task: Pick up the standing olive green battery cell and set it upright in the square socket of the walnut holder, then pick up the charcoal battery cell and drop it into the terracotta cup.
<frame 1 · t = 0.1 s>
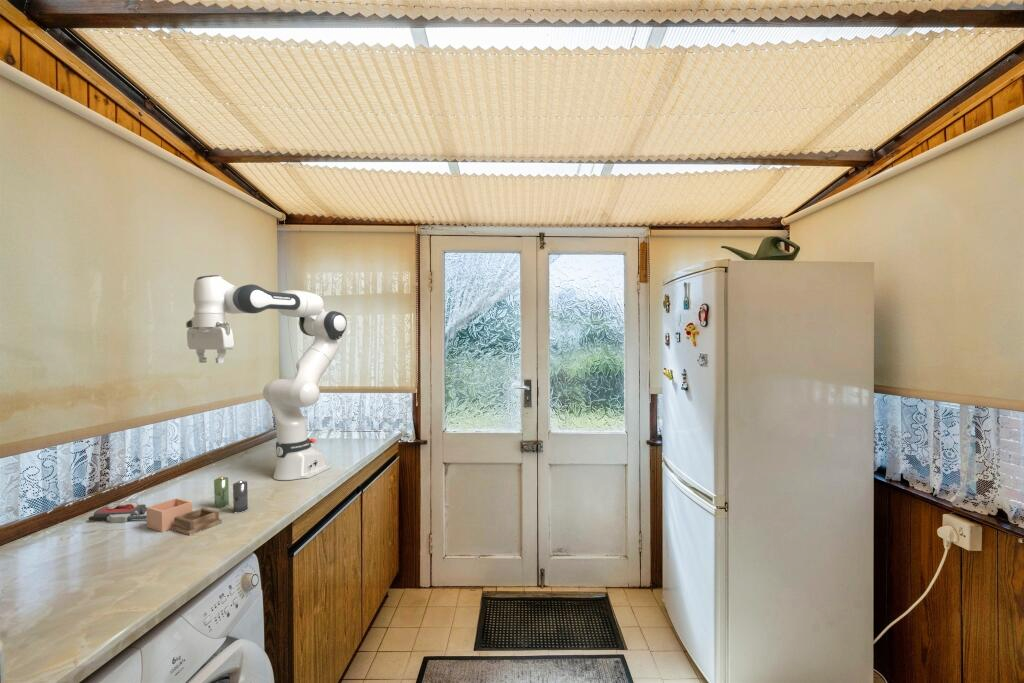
hand: (211, 362, 151), 48 cm above the table, tool pointing down, fingers open, 8 cm apart
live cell: (221, 505, 149), on the table
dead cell: (240, 510, 144), on the table
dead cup: (170, 524, 134), on the table
cell holder: (197, 526, 133), on the table
walkie-talkie: (128, 518, 140), on the table
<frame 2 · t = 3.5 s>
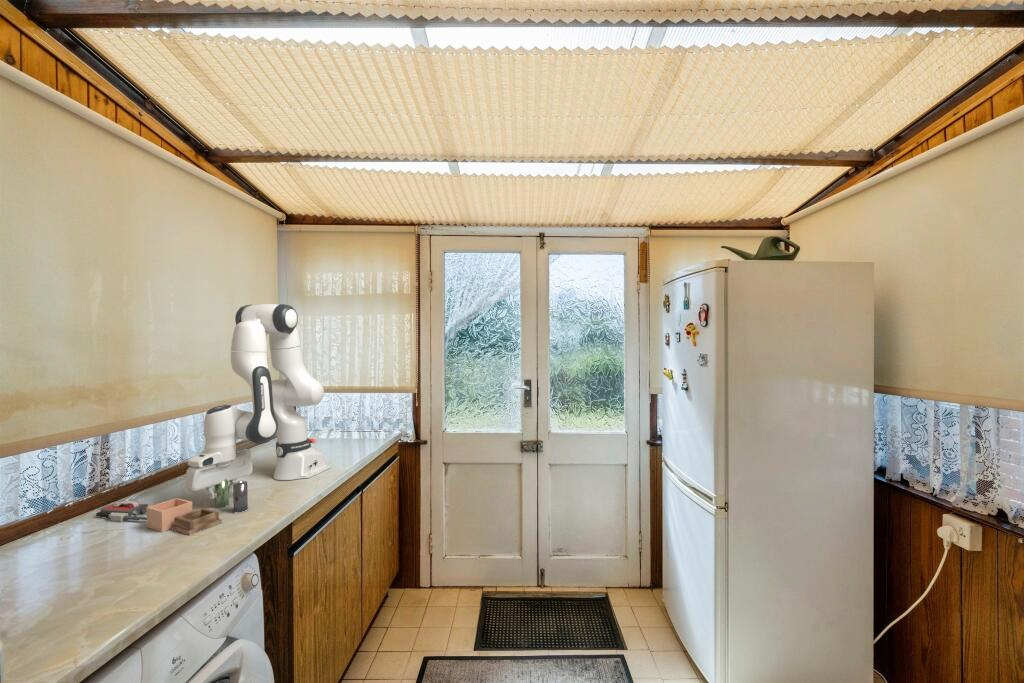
hand: (221, 495, 148), 3 cm above the table, tool pointing down, fingers closed on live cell, 4 cm apart
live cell: (221, 505, 149), on the table, touching gripper
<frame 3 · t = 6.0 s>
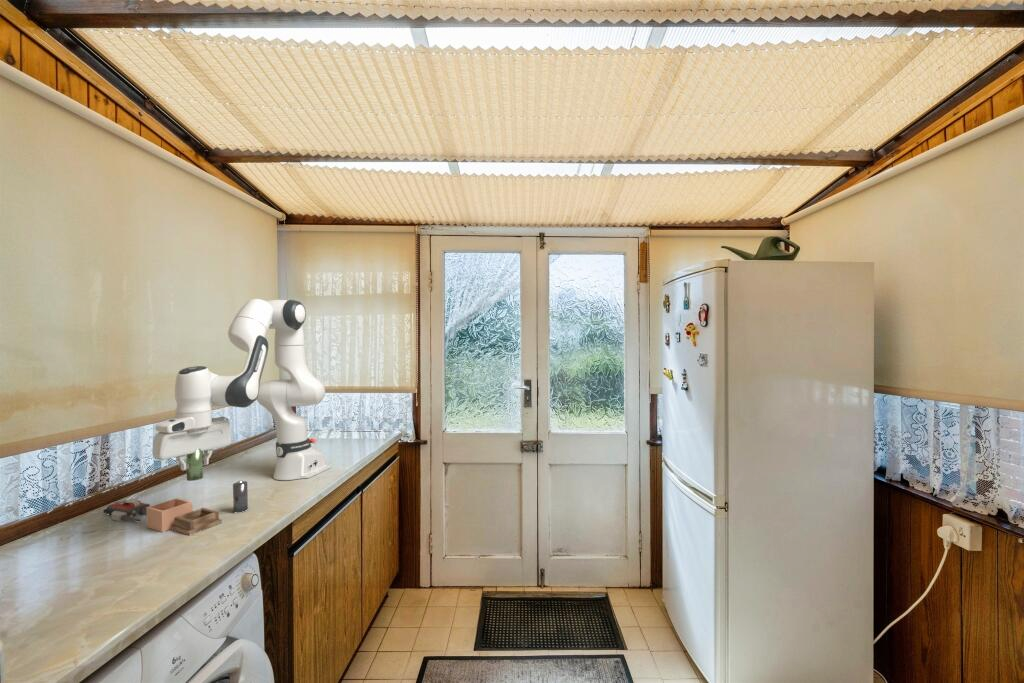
hand: (194, 467, 132), 18 cm above the table, tool pointing down, fingers closed on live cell, 4 cm apart
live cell: (195, 478, 132), point 14 cm above the table, touching gripper
when the fingers open (5 cm above the table, at t = 8.7 s): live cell stays where it is, resting on cell holder.
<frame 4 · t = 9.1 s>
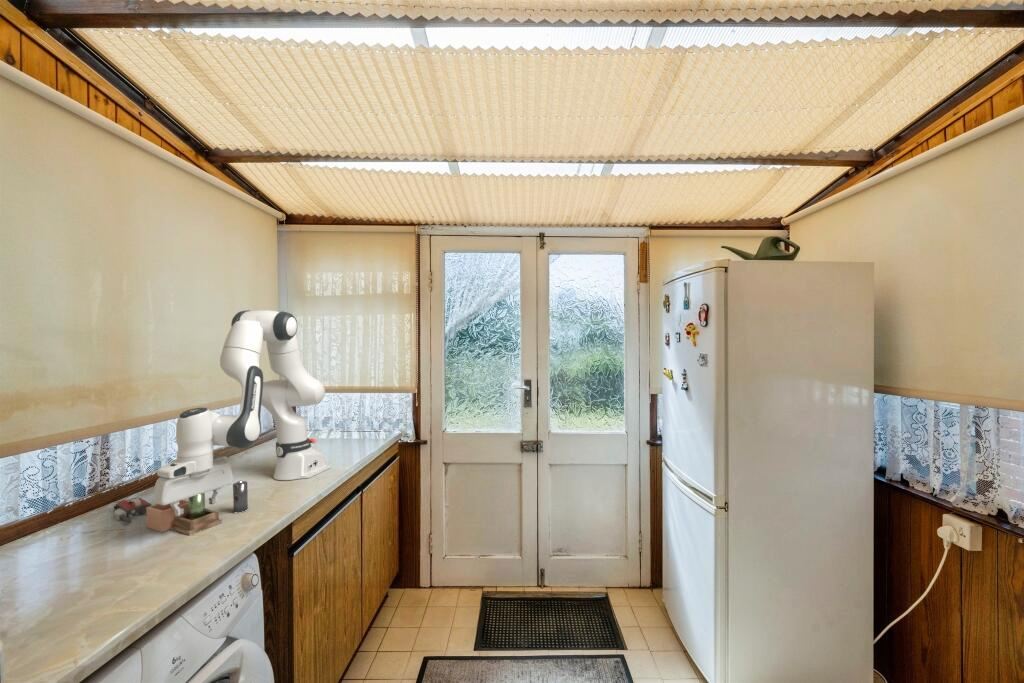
hand: (196, 509, 133), 5 cm above the table, tool pointing down, fingers open, 8 cm apart
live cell: (197, 522, 133), point 1 cm above the table, touching cell holder
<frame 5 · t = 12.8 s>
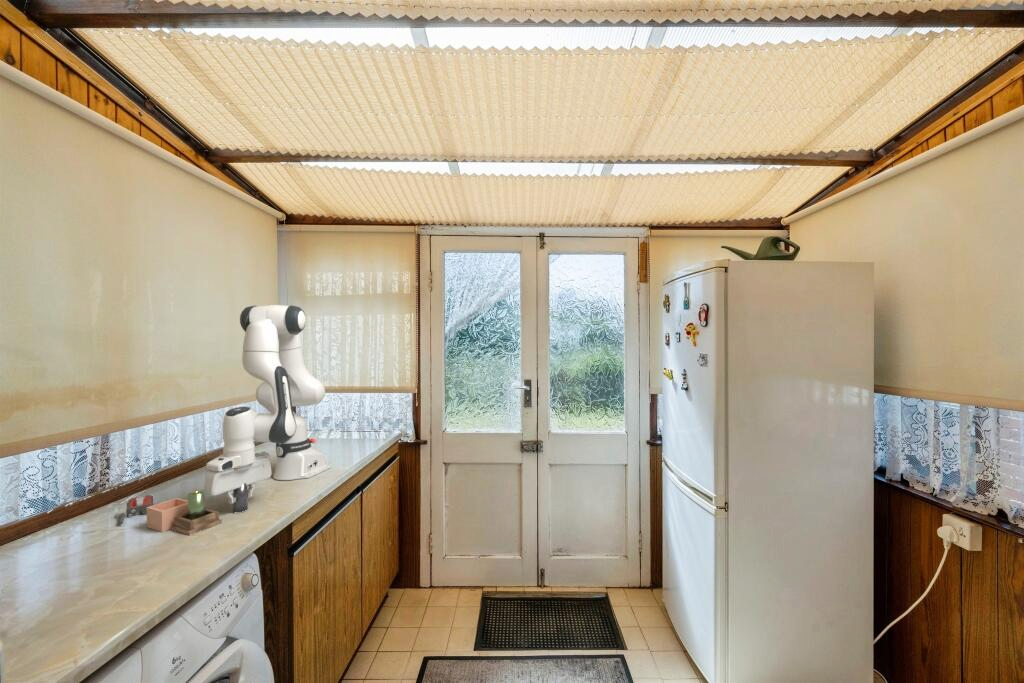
hand: (240, 500, 144), 3 cm above the table, tool pointing down, fingers closed on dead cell, 4 cm apart
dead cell: (240, 510, 144), on the table, touching gripper
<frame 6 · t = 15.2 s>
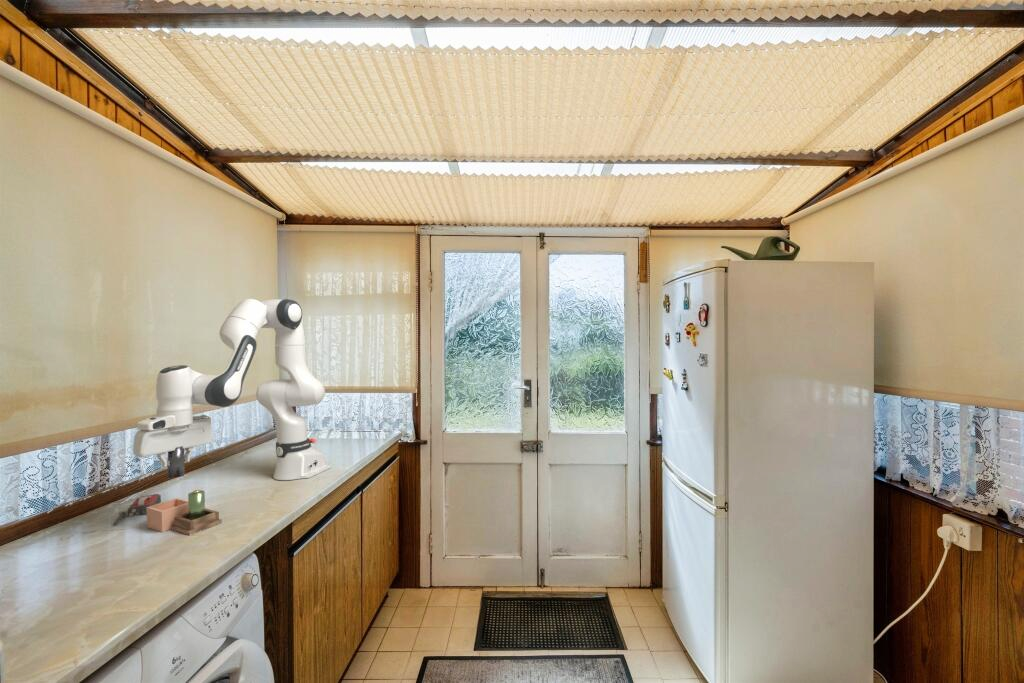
hand: (175, 464, 135), 18 cm above the table, tool pointing down, fingers closed on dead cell, 4 cm apart
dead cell: (176, 475, 135), point 15 cm above the table, touching gripper
when the fingers open (7 cm above the table, at t = 17.6 s): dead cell drops 3 cm, resting on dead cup.
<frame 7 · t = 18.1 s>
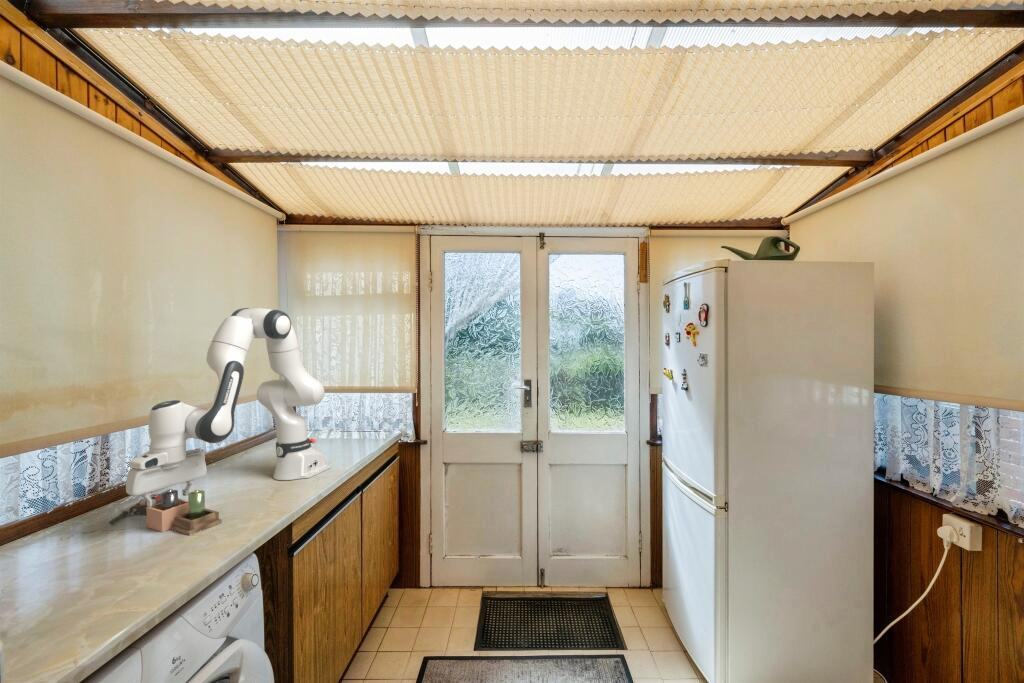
hand: (169, 500, 134), 7 cm above the table, tool pointing down, fingers open, 8 cm apart
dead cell: (170, 521, 134), point 1 cm above the table, touching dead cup
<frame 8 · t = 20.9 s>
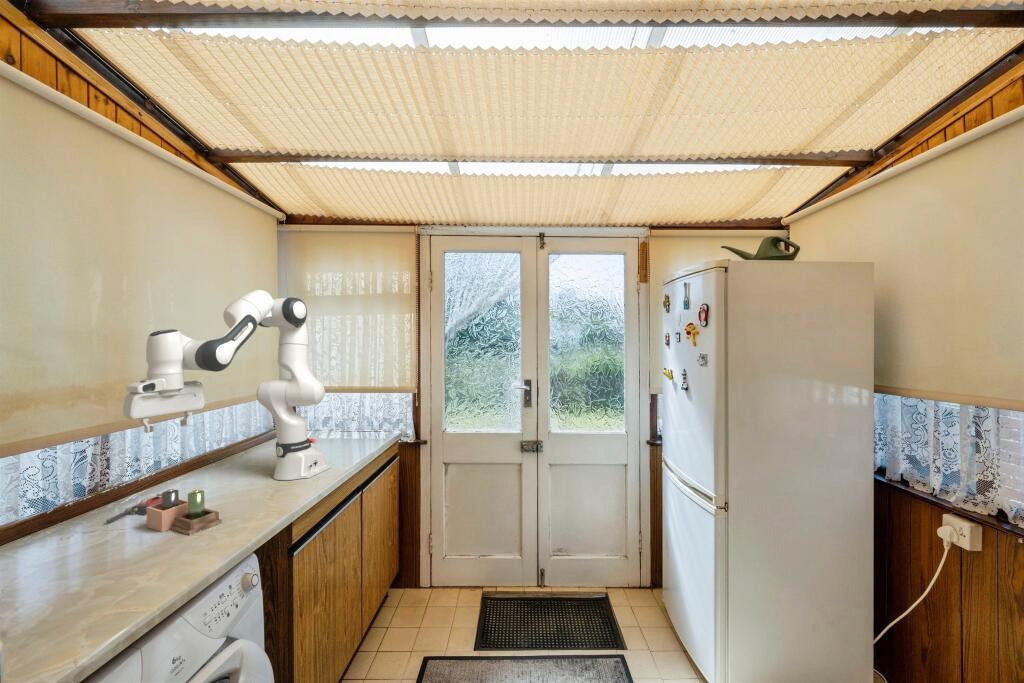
hand: (167, 428, 134), 29 cm above the table, tool pointing down, fingers open, 8 cm apart
at the end: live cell 0.1 cm off-centre on the cell holder, point 1.1 cm above the cell holder's base; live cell tilted 2°; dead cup 0.0 cm off-centre on the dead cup, point 0.0 cm above the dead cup's base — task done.
